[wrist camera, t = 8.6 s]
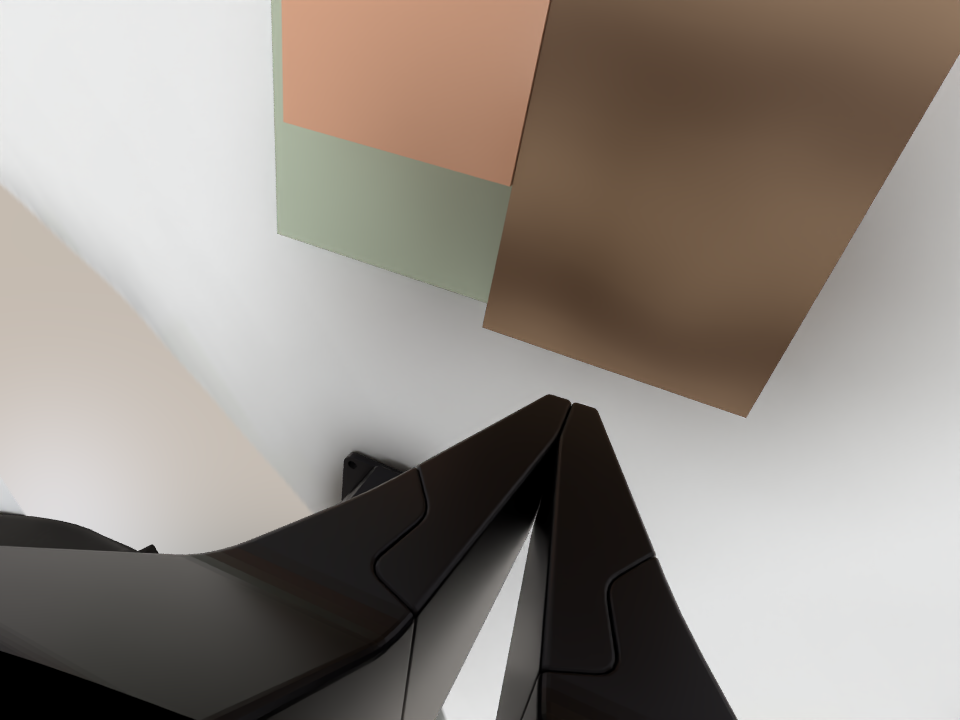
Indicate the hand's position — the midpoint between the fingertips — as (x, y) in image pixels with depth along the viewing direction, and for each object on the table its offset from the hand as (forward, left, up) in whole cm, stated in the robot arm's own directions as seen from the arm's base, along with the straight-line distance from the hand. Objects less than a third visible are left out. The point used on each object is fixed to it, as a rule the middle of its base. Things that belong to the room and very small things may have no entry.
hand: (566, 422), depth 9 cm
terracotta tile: (+5, +8, -10) cm, 14 cm away
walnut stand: (+5, -1, -11) cm, 12 cm away
